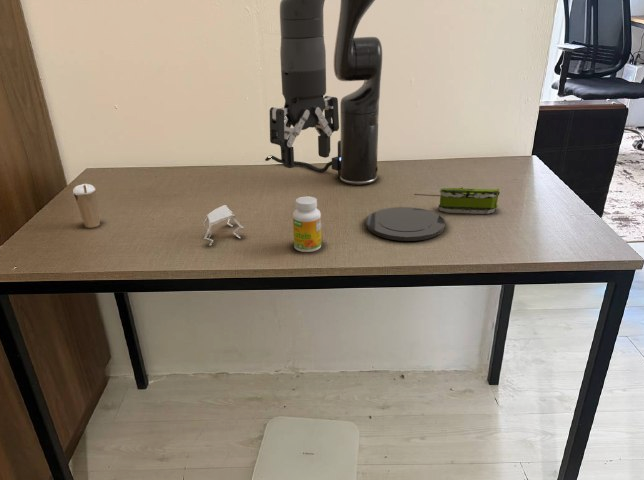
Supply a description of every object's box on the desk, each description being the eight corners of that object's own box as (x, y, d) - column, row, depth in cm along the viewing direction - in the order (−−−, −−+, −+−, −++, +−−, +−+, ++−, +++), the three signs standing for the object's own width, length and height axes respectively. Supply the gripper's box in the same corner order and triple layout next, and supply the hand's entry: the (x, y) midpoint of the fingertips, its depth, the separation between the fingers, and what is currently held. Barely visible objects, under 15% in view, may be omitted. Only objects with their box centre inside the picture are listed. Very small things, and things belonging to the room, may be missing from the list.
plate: (369, 243, 112) (369, 237, 112) (363, 213, 126) (364, 207, 125) (451, 241, 112) (452, 235, 111) (436, 211, 125) (437, 205, 125)
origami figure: (244, 244, 114) (242, 221, 111) (202, 247, 113) (199, 224, 111) (245, 221, 124) (243, 200, 121) (207, 224, 124) (204, 202, 121)
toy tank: (502, 195, 117) (499, 171, 124) (409, 193, 121) (412, 169, 128) (497, 224, 122) (495, 198, 129) (408, 220, 126) (410, 196, 133)
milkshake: (84, 232, 122) (72, 187, 117) (80, 223, 126) (69, 180, 121) (105, 227, 124) (95, 183, 119) (101, 219, 128) (91, 176, 123)
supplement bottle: (289, 250, 111) (287, 203, 106) (300, 239, 115) (298, 193, 110) (315, 254, 109) (314, 206, 104) (325, 243, 113) (324, 196, 108)
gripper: (319, 59, 101) (321, 150, 110) (255, 69, 93) (262, 166, 102) (349, 62, 97) (349, 157, 105) (285, 73, 88) (290, 175, 97)
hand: (306, 161), depth 103 cm, fingers open, 8 cm apart
